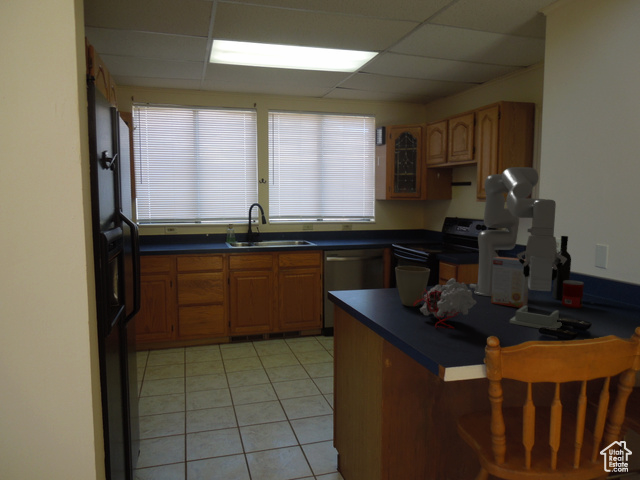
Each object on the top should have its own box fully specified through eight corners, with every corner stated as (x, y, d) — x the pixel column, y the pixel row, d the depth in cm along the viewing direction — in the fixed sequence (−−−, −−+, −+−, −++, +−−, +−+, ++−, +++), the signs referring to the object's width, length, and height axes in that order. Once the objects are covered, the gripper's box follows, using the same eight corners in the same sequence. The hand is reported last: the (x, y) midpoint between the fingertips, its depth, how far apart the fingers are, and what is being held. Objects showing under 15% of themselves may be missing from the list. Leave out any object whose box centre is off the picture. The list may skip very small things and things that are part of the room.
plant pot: (401, 309, 192) (402, 271, 191) (389, 301, 207) (390, 266, 205) (434, 308, 195) (436, 271, 194) (420, 300, 210) (421, 265, 208)
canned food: (584, 308, 199) (586, 283, 198) (564, 307, 201) (566, 282, 199) (578, 304, 206) (580, 280, 205) (559, 303, 208) (560, 279, 207)
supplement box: (548, 288, 175) (550, 255, 174) (551, 291, 168) (553, 257, 167) (527, 286, 178) (529, 254, 177) (529, 290, 171) (531, 256, 170)
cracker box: (527, 306, 201) (530, 259, 199) (522, 309, 197) (525, 260, 195) (496, 301, 211) (498, 256, 209) (490, 303, 206) (493, 257, 204)
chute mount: (509, 323, 174) (510, 310, 173) (519, 315, 185) (520, 304, 184) (555, 331, 164) (556, 318, 164) (563, 323, 175) (564, 311, 175)
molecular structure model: (416, 345, 169) (465, 320, 151) (395, 299, 175) (440, 270, 157) (450, 334, 181) (499, 309, 163) (429, 291, 187) (474, 263, 169)
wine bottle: (564, 297, 220) (568, 235, 218) (569, 300, 215) (573, 236, 212) (551, 297, 221) (555, 235, 218) (556, 300, 215) (560, 236, 213)
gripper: (515, 231, 173) (512, 276, 175) (566, 234, 163) (563, 282, 164) (520, 230, 179) (518, 274, 181) (570, 233, 169) (567, 279, 170)
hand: (539, 278), depth 173 cm, fingers closed on supplement box, 9 cm apart
